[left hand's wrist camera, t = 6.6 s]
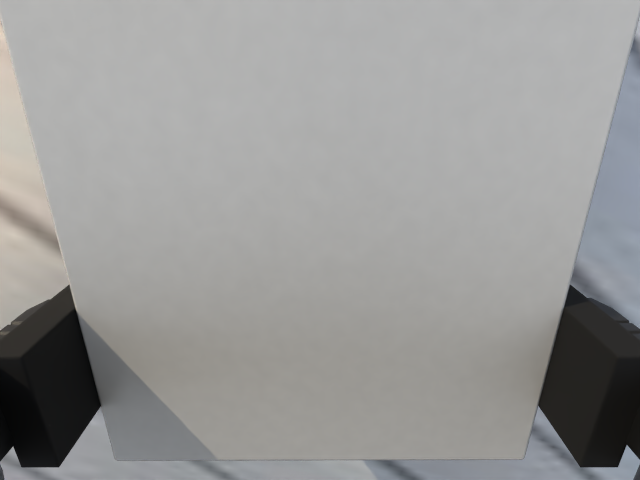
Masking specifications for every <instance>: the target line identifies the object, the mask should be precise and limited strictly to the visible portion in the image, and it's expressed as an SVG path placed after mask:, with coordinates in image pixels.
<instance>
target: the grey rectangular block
mask: <svg viewBox="0 0 640 480" xmlns="http://www.w3.org/2000/svg"><path fill="white" fill-rule="evenodd" d="M639 17H640V0H0V20H1V24H2V27H3V31H4V35H5V39H6V43H7V47H8V51H9V54H10V58H11V62H12V66H13V70H14V74H15V77H16V81H17V85H18V89H19V93H20V97H21V100H22V104H23V108H24V112H25V116H26V120H27V124H28V127H29V131H30V135H31V139H32V143H33V147H34V150H35V154H36V158H37V162H38V166H39V170H40V173H41V177H42V181H43V185H44V189H45V193H46V197H47V200H48V204H49V208H50V212H51V216H52V220H53V223H54V227H55V231H56V235H57V239H58V243H59V246H60V250H61V254H62V258H63V262H64V266H65V269H66V273H67V277H68V281H69V285H70V289H71V293H72V296H73V300H74V304H75V308H76V312H77V316H78V319H79V323H80V327H81V331H82V335H83V339H84V342H85V346H86V350H87V354H88V358H89V362H90V366H91V369H92V373H93V377H94V381H95V385H96V389H97V392H98V396H99V400H100V404H101V408H102V412H103V415H104V419H105V423H106V427H107V431H108V435H109V439H110V442H111V446H112V450H113V454H114V458H115V460H117V461H191V460H522V459H524V458H525V454H526V450H527V447H528V443H529V439H530V435H531V431H532V427H533V424H534V420H535V416H536V412H537V408H538V404H539V401H540V397H541V393H542V389H543V385H544V381H545V378H546V374H547V370H548V366H549V362H550V358H551V355H552V351H553V347H554V343H555V339H556V335H557V332H558V328H559V324H560V320H561V316H562V312H563V309H564V305H565V301H566V297H567V293H568V289H569V286H570V282H571V278H572V274H573V270H574V266H575V263H576V259H577V255H578V251H579V247H580V243H581V240H582V236H583V232H584V228H585V224H586V220H587V217H588V213H589V209H590V205H591V201H592V197H593V194H594V190H595V186H596V182H597V178H598V174H599V171H600V167H601V163H602V159H603V155H604V151H605V148H606V144H607V140H608V136H609V132H610V128H611V125H612V121H613V117H614V113H615V109H616V105H617V102H618V98H619V94H620V90H621V86H622V82H623V79H624V75H625V71H626V67H627V63H628V59H629V56H630V52H631V48H632V44H633V40H634V36H635V33H636V29H637V25H638V21H639Z"/></svg>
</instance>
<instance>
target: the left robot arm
mask: <svg viewBox="0 0 640 480" xmlns="http://www.w3.org/2000/svg"><path fill="white" fill-rule="evenodd" d="M100 406H101V404H100V400H99V396H98V392H97V389H96V385H95V381H94V377H93V373H92V369H91V366H90V362H89V358H88V354H87V350H86V346H85V342H84V339H83V335H82V331H81V327H80V323H79V319H78V316H77V312H76V308H75V304H74V300H73V296H72V293H71V289H70V285H68V286H67V287H66V288H64V289H63V290H62V291H61V292H59V293H58V294H57V295H56V296H54V297H53V298H52V299H51V300H47V301H45V302H43V303H41V304H38V305H36V306H34V307H32V308H30V309H28V310H27V311H25V312H24V313H23V314H21V315H20V316H19V317H17V318H16V319H15V320H14V321H12V322H11V325H7V326H6V327H4V328H3V329H2V330H1V331H0V461H1V460H2V459H3V457H4V456H5V455H6V454H7V453H8V452H9V450H10V449H11V448H12V447H14V449H15V452H16V454H17V457H18V459H19V462H20V464H21V467H59V466H60V465H61V464H62V462H63V461H64V459H65V458H66V456H67V455H68V453H69V452H70V450H71V449H72V447H73V446H74V445H75V443H76V442H77V440H78V439H79V437H80V436H81V434H82V433H83V431H84V430H85V428H86V427H87V425H88V424H89V423H90V421H91V420H92V418H93V417H94V415H95V414H96V412H97V411H98V409H99V408H100ZM538 406H539V407H540V409H541V410H542V411H543V413H544V414H545V416H546V417H547V419H548V420H549V422H550V423H551V425H552V426H553V428H554V429H555V431H556V432H557V433H558V435H559V436H560V438H561V439H562V441H563V442H564V444H565V445H566V447H567V448H568V450H569V451H570V453H571V454H572V455H573V457H574V458H575V460H576V461H577V463H578V464H579V466H580V467H618V465H619V463H620V460H621V458H622V455H623V453H624V450H625V448H626V445H628V446H629V447H630V449H631V450H632V451H633V452H634V453H635V455H636V456H637V457H638V458H639V459H640V329H639V328H638V327H636V326H635V325H634V324H632V323H629V321H628V320H627V319H626V318H624V317H623V316H622V315H621V314H619V313H618V312H617V311H615V310H614V309H613V308H611V307H608V306H606V305H604V304H602V303H600V302H598V301H596V300H594V299H592V298H586V297H585V296H584V295H583V294H581V293H580V292H579V291H577V290H576V289H575V288H574V287H572V286H571V285H570V286H569V289H568V293H567V297H566V301H565V305H564V309H563V312H562V316H561V320H560V324H559V328H558V332H557V335H556V339H555V343H554V347H553V351H552V355H551V358H550V362H549V366H548V370H547V374H546V378H545V381H544V385H543V389H542V393H541V397H540V401H539V404H538ZM0 480H4V475H3V470H2V468H1V465H0ZM634 480H640V465H639V468H638V470H637V473H636V475H635V477H634Z"/></svg>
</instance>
